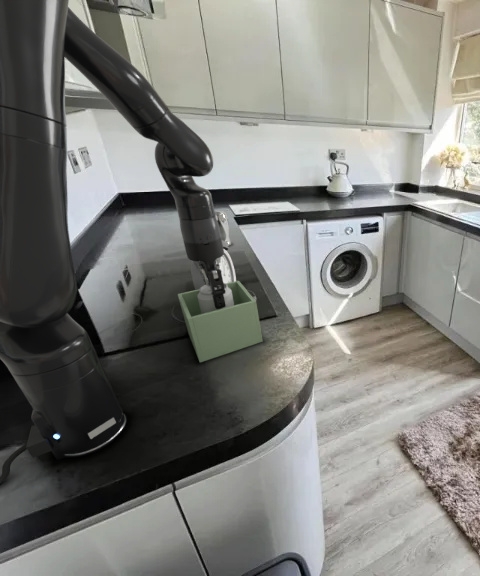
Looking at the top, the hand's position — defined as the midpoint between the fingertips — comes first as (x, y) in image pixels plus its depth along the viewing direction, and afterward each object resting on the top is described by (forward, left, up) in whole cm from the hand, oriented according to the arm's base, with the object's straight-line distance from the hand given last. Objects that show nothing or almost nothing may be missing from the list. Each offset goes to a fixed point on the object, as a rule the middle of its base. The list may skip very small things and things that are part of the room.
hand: (216, 301), depth 79 cm
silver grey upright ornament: (+19, +78, -11) cm, 81 cm away
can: (0, 0, -8) cm, 8 cm away
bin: (0, 0, -11) cm, 11 cm away
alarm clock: (+4, +22, -11) cm, 25 cm away
